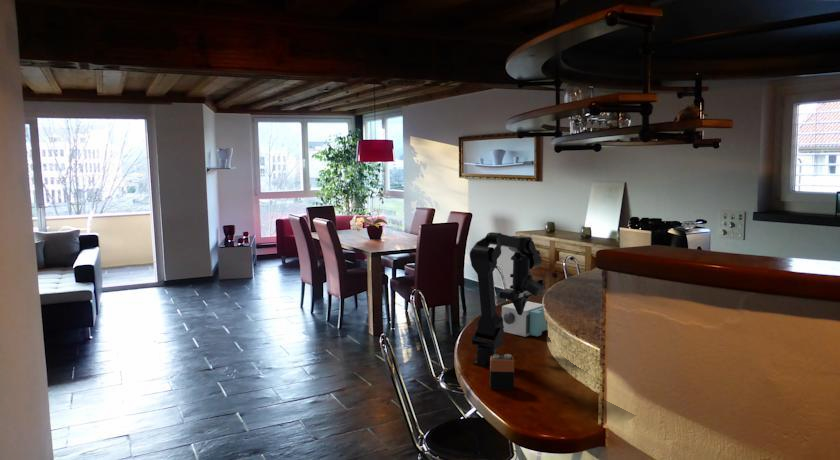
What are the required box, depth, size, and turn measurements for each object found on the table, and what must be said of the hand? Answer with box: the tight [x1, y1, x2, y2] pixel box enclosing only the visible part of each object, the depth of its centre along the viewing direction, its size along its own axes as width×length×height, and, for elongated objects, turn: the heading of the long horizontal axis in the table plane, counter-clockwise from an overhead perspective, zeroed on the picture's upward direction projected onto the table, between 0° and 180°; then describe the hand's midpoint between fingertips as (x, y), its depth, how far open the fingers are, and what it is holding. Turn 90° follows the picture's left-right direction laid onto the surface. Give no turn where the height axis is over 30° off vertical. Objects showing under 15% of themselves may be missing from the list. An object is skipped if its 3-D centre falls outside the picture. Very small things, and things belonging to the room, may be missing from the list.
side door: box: [529, 308, 548, 337], centre depth 235 cm, size 11×4×9 cm, turn 137°
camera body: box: [501, 300, 543, 338], centre depth 240 cm, size 15×11×10 cm
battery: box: [489, 353, 515, 391], centre depth 179 cm, size 4×7×10 cm, turn 87°
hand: (520, 314), depth 217 cm, fingers closed
